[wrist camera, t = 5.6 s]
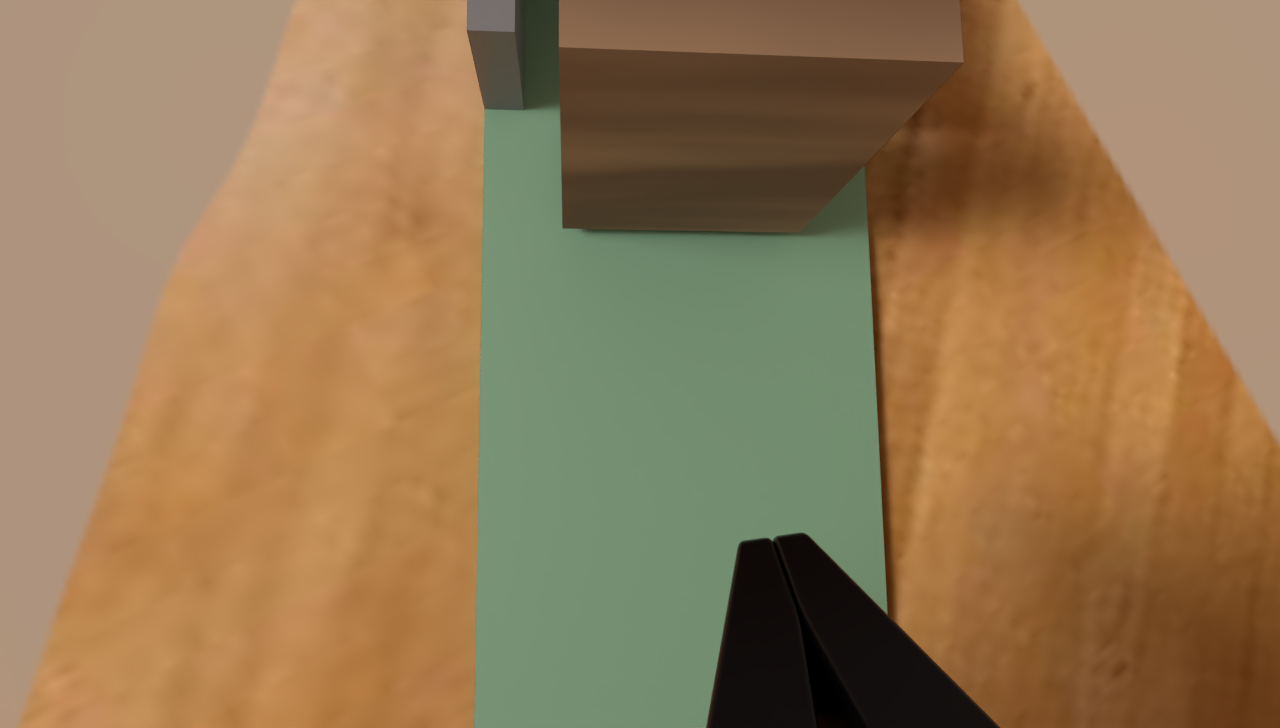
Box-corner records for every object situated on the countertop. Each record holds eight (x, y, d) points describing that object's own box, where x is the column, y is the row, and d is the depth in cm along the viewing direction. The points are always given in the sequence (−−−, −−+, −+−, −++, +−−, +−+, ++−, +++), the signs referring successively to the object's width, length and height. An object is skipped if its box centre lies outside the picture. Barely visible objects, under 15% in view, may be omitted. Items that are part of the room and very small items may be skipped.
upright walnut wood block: (799, 232, 20) (963, 63, 12) (562, 228, 20) (559, 47, 11) (795, 120, 21) (951, -121, 12) (563, 113, 20) (559, -145, 12)
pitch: (887, 716, 20) (892, 720, 19) (475, 732, 19) (474, 737, 18) (850, -35, 22) (854, -42, 22) (488, -52, 21) (487, -59, 21)
